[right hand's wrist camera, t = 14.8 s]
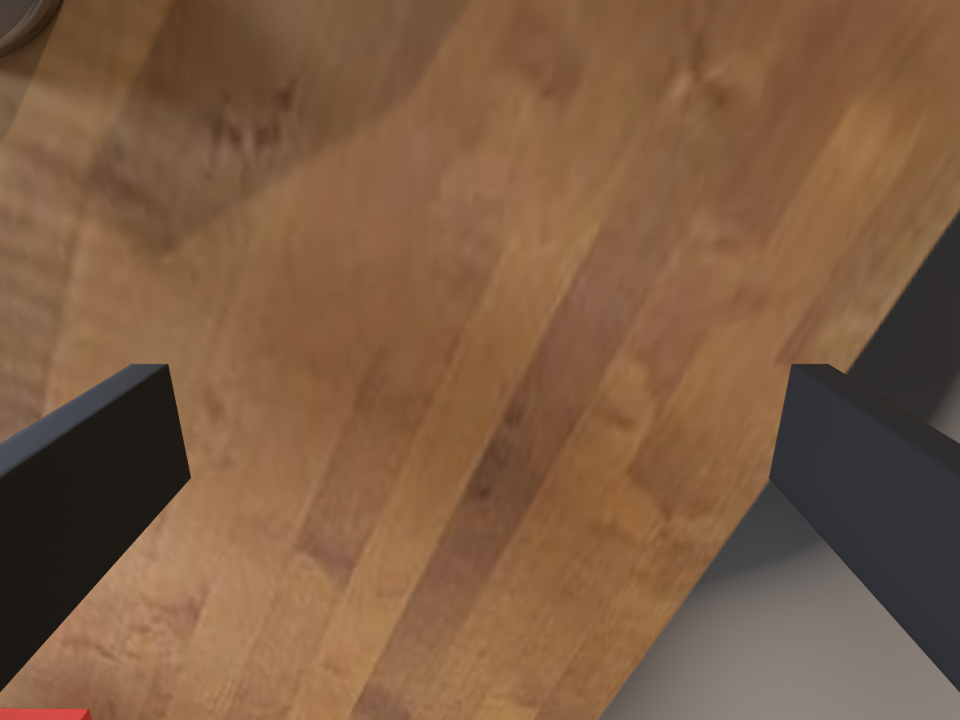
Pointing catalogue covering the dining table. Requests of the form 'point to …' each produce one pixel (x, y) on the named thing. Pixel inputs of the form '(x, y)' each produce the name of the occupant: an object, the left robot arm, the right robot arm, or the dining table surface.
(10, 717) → the block
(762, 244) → the dining table surface
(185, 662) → the dining table surface
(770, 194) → the dining table surface
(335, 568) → the dining table surface
